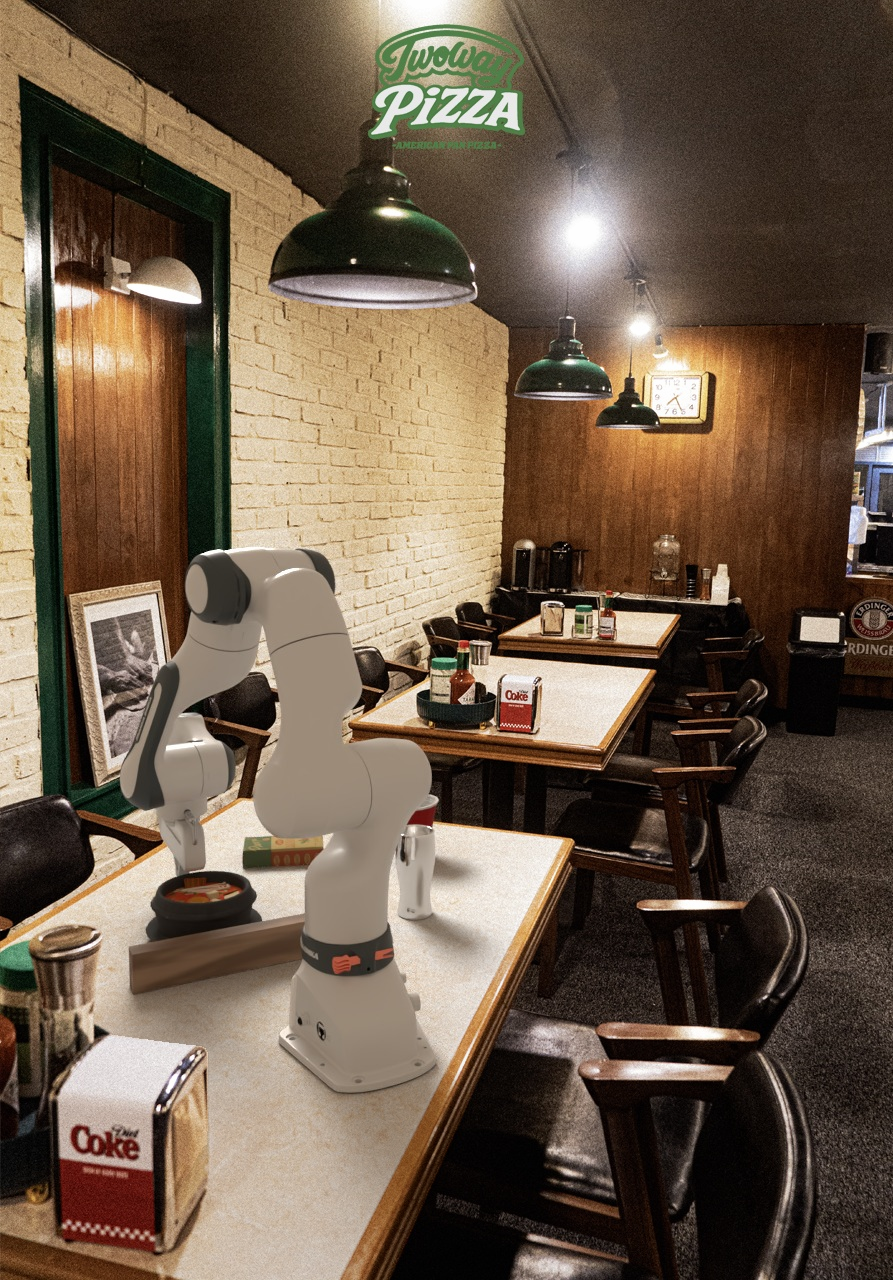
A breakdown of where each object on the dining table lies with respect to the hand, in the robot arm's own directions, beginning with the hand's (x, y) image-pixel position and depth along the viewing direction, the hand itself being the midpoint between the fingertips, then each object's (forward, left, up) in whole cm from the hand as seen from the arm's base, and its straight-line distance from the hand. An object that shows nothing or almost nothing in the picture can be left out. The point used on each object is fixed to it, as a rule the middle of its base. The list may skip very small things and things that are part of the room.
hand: (182, 878), depth 170 cm
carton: (+14, -23, -5) cm, 28 cm away
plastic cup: (+4, -47, -5) cm, 48 cm away
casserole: (-14, 0, -5) cm, 15 cm away
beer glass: (-22, -35, -5) cm, 42 cm away
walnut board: (-28, 0, -5) cm, 29 cm away
